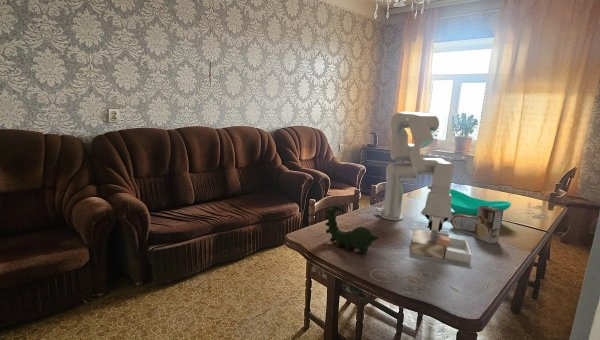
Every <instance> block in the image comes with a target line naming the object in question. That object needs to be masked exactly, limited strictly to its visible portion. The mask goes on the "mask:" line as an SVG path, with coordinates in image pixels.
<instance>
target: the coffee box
mask: <svg viewBox="0 0 600 340" xmlns="http://www.w3.org/2000/svg"><path fill="white" fill-rule="evenodd" d="M503 214H504V211H502V210H499V209H496V208H493V207H490V206H487V205H486V206H479V207H478V213H477V219H476V225H475V232H473V233H474V234H473V237H474V238H476V239H478V240H481V241H483V242H485V243H487V244H497V243H499V238H500V234H501V232H500V231H501V227H502V222H503V216H504V215H503Z"/></svg>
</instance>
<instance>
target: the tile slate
mask: <svg viewBox="0 0 600 340" xmlns="http://www.w3.org/2000/svg"><path fill="white" fill-rule="evenodd" d="M437 234H439V235H443V236H447V237H450V235H449V231H448V230H445V229H444V230H443V229H442V230H440V232H439V231H437Z"/></svg>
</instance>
